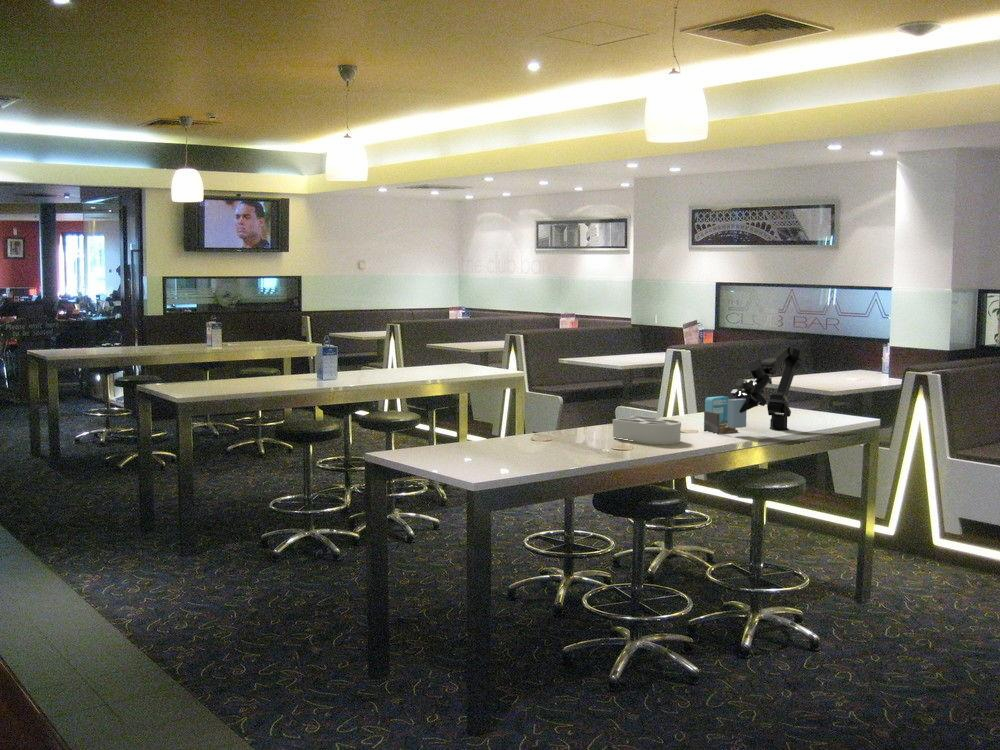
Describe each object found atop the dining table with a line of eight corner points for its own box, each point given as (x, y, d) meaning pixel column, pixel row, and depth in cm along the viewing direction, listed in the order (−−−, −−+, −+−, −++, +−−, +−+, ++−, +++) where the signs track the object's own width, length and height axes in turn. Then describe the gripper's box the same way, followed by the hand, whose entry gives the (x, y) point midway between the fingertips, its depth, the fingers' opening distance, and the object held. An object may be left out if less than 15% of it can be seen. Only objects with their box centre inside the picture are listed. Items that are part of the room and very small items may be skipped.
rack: (724, 429, 460) (724, 409, 459) (737, 432, 451) (738, 412, 450) (703, 430, 455) (704, 411, 454) (717, 434, 446) (717, 413, 445)
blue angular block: (740, 425, 444) (740, 398, 443) (746, 426, 440) (746, 399, 439) (727, 426, 441) (727, 399, 440) (732, 428, 437) (733, 400, 436)
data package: (711, 423, 477) (712, 398, 476) (704, 422, 481) (704, 397, 479) (729, 421, 484) (729, 396, 483) (722, 420, 487) (722, 395, 486)
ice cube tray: (636, 435, 447) (636, 415, 446) (688, 442, 427) (689, 422, 426) (612, 439, 436) (612, 419, 435) (664, 447, 415) (664, 426, 414)
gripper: (734, 371, 449) (713, 397, 446) (761, 374, 432) (739, 401, 429) (748, 387, 453) (728, 413, 450) (776, 392, 436) (754, 419, 433)
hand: (737, 411), depth 440 cm, fingers closed on blue angular block, 4 cm apart
